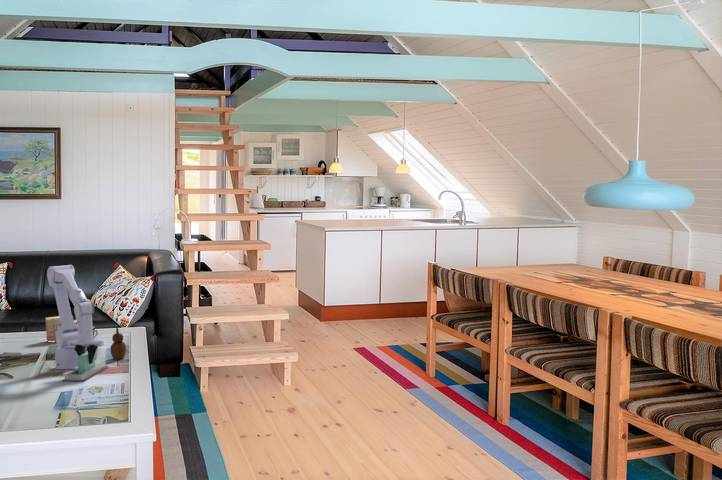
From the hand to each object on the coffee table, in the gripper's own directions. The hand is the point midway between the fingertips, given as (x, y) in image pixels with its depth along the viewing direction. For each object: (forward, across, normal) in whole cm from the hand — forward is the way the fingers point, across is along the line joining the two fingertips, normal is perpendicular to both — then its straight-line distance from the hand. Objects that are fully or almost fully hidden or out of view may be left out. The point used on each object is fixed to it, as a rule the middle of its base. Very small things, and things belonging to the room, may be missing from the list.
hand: (86, 363), depth 300 cm
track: (+4, 0, -1) cm, 5 cm away
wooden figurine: (+5, +2, +26) cm, 26 cm away
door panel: (+3, 0, 0) cm, 3 cm away
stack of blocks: (+5, -41, +65) cm, 77 cm away
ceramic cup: (+5, -22, +45) cm, 50 cm away
